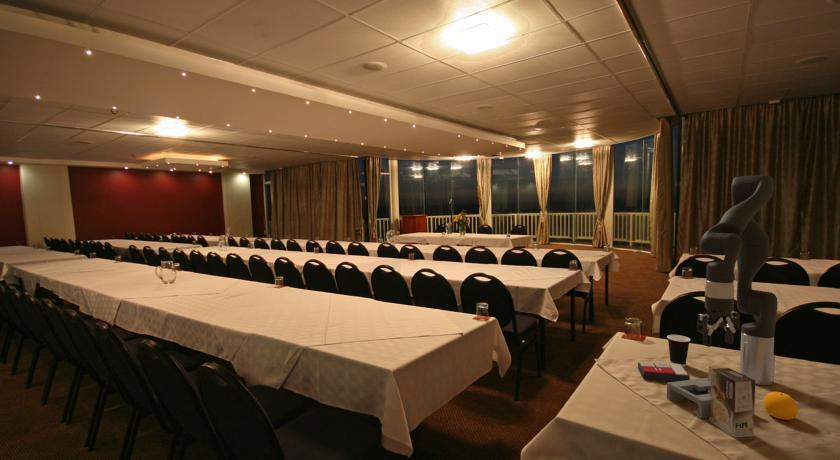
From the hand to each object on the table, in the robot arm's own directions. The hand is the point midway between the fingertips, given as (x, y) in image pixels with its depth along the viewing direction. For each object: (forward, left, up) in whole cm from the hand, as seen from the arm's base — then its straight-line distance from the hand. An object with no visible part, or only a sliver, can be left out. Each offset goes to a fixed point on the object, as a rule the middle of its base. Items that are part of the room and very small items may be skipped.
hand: (717, 344), depth 130 cm
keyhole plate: (+4, 0, -20) cm, 20 cm away
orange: (-11, +11, -20) cm, 25 cm away
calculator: (0, -22, -20) cm, 30 cm away
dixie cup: (-15, -30, -20) cm, 39 cm away
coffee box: (+9, +13, -20) cm, 25 cm away
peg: (0, 0, -20) cm, 20 cm away
